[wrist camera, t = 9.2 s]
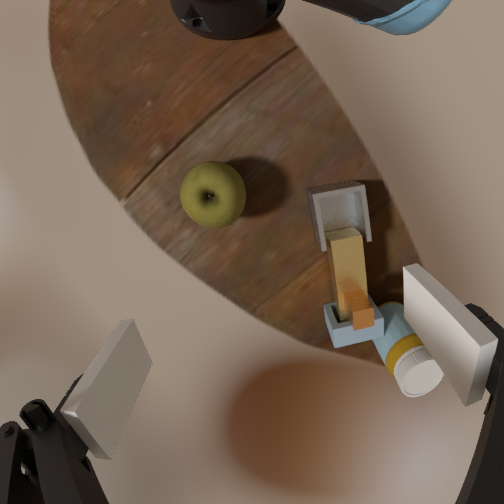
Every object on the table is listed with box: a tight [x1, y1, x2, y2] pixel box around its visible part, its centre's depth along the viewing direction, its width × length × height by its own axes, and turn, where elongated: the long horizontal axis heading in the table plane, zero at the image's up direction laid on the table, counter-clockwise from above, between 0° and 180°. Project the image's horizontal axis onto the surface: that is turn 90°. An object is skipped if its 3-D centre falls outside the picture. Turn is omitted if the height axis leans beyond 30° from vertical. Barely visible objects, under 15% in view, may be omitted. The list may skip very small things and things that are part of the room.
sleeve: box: [306, 180, 372, 251], centre depth 39 cm, size 7×6×5 cm
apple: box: [180, 161, 246, 228], centre depth 38 cm, size 8×8×7 cm
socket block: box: [323, 294, 384, 348], centre depth 43 cm, size 3×7×7 cm, turn 103°
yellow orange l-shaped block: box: [324, 227, 375, 331], centre depth 39 cm, size 13×4×9 cm, turn 13°
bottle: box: [372, 301, 444, 397], centre depth 40 cm, size 7×7×15 cm
